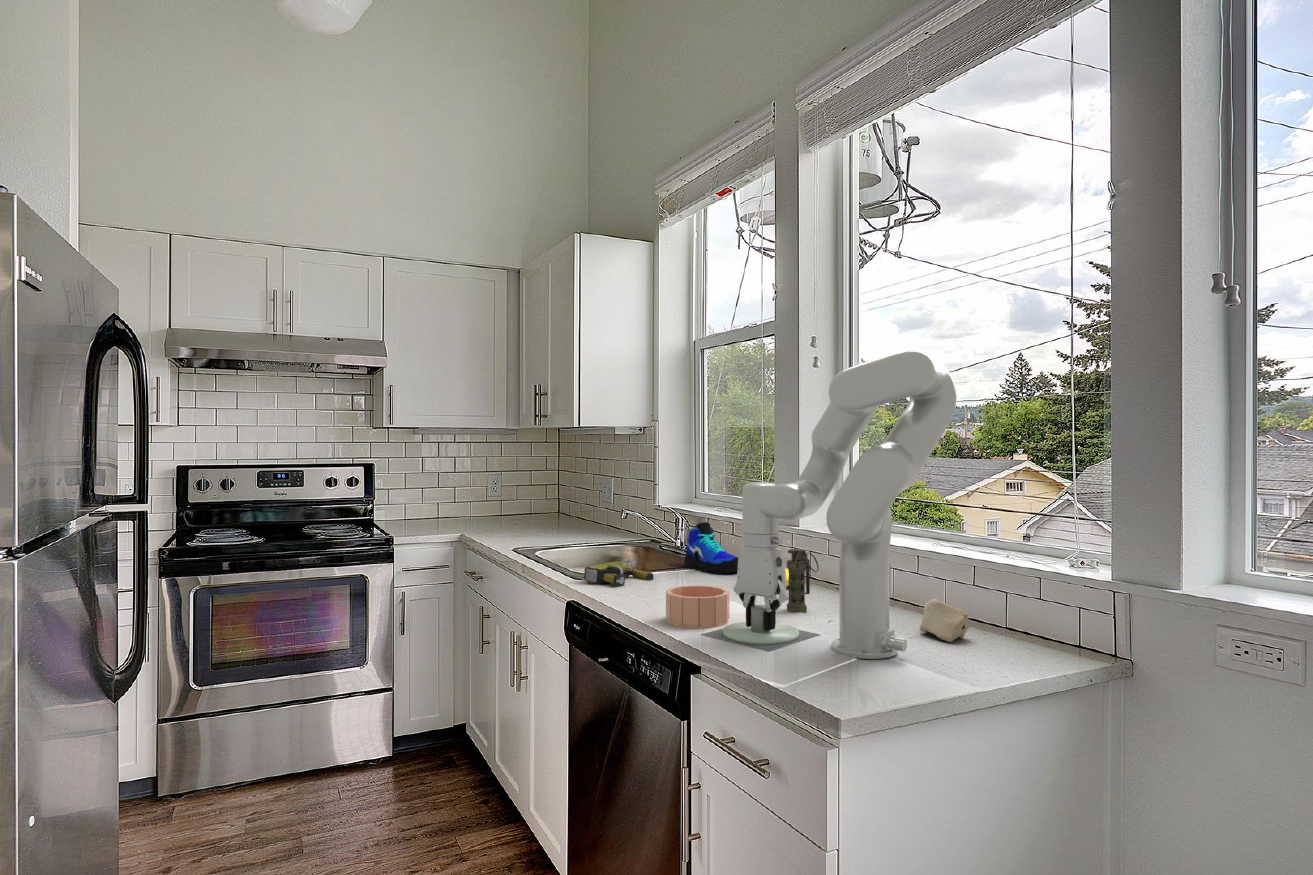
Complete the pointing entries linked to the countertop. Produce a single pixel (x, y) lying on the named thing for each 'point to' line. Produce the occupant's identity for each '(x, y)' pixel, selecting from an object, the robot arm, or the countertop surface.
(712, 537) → the sneaker
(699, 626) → the bowl
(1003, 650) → the countertop surface
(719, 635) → the mat
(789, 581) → the grenade
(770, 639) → the lid
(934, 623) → the decorative stone
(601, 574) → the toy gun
